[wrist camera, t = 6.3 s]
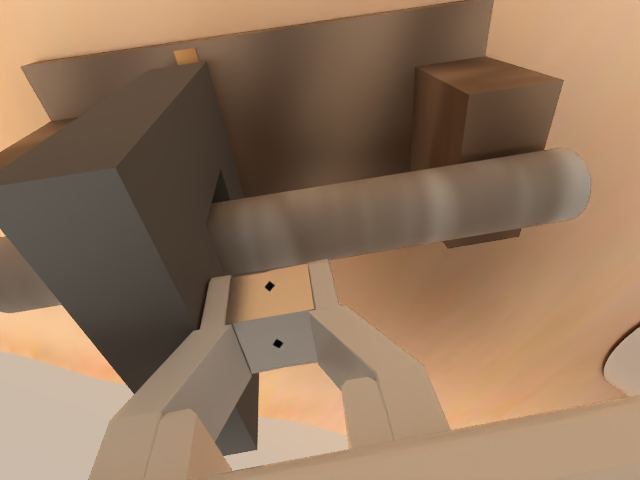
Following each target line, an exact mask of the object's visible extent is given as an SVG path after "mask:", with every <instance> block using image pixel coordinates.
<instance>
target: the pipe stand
mask: <svg viewBox="0 0 640 480" xmlns="http://www.w3.org/2000/svg"><path fill="white" fill-rule="evenodd" d="M493 1H494V0H464V1H457V2H450V3H443V4H436V5H430V6H423V7H416V8H409V9H402V10H395V11H388V12H381V13H374V14H367V15H360V16H353V17H346V18H339V19H332V20H325V21H319V22H312V23H305V24H298V25H291V26H284V27H277V28H270V29H263V30H256V31H249V32H242V33H235V34H228V35H221V36H214V37H208V38H201V39H194V40H187V41H180V42H173V43H166V44H159V45H152V46H145V47H138V48H131V49H124V50H117V51H110V52H103V53H97V54H90V55H83V56H76V57H69V58H62V59H55V60H48V61H41V62H35V63H31V64H28V65H25V66H22V67H21V69H22V71H23V72H24V74H25V76H26V78H27V79H28V81H29V83H30V85H31V86H32V88H33V90H34V92H35V93H36V95H37V97H38V99H39V100H40V102H41V104H42V106H43V107H44V109H45V111H46V113H47V114H48V116H49V118H50V120H51V122H49V123H48V124H46V125H44V126H43V127H41V128H39V129H38V130H36V131H35V132H33V133H31V134H30V135H28V136H26V137H25V138H23V139H21V140H20V141H18V142H16V143H15V144H13V145H11V146H10V147H8V148H7V149H5V150H3V151H2V152H0V169H2V168H3V167H5V166H6V165H8V164H9V163H11V162H12V161H14V160H15V159H17V158H18V157H20V156H21V155H23V154H24V153H26V152H27V151H29V150H30V149H32V148H33V147H35V146H36V145H38V144H39V143H41V142H42V141H44V140H45V139H47V138H48V137H50V136H51V135H53V134H54V133H56V132H57V131H59V130H60V129H61V128H63V127H64V126H66V125H67V124H69V123H70V122H72V121H73V120H75V119H76V118H78V117H79V116H81V115H82V114H84V113H85V112H87V111H88V110H90V109H91V108H93V107H94V106H96V105H97V104H99V103H100V102H102V101H103V100H105V99H106V98H108V97H109V96H111V95H112V94H114V93H115V92H117V91H118V90H120V89H121V88H123V87H124V86H126V85H127V84H128V83H130V82H131V81H133V80H134V79H136V78H137V77H139V76H140V75H142V74H143V73H145V72H146V71H148V70H149V69H156V68H163V67H170V66H177V65H184V64H190V63H197V62H204V61H207V64H208V68H209V71H210V75H211V78H212V82H213V86H214V89H215V93H216V96H217V100H218V104H219V107H220V111H221V114H222V118H223V122H224V125H225V129H226V132H227V136H228V140H229V143H230V147H231V150H232V154H233V158H234V161H235V165H236V168H237V172H238V176H239V179H240V183H241V186H242V190H243V194H244V197H245V198H243V199H237V200H230V201H224V202H218V203H212V204H211V207H210V211H209V214H208V218H207V222H206V225H207V228H208V231H209V233H210V236H211V239H212V241H213V244H214V247H215V250H216V252H217V255H218V258H219V260H220V263H221V266H222V268H223V271H224V274H225V276H228V275H233V274H239V273H246V272H253V271H260V270H267V269H274V268H280V267H286V266H292V265H297V264H303V263H308V262H312V261H317V260H322V259H328V260H333V259H339V258H345V257H351V256H357V255H363V254H369V253H375V252H381V251H387V250H393V249H399V248H405V247H411V246H417V245H423V244H429V243H435V242H441V241H443V242H444V244H445V245H446V246H447V248H454V247H460V246H466V245H472V244H478V243H484V242H490V241H496V240H502V239H508V238H514V237H519V235H520V231H521V228H525V227H531V226H537V225H543V224H549V223H555V222H561V221H567V220H571V219H574V218H576V217H577V216H579V215H580V214H581V213H582V212H583V211H584V209H585V207H586V206H587V203H588V201H589V198H590V193H591V179H590V174H589V171H588V168H587V166H586V164H585V162H584V161H583V159H582V158H581V157H580V156H579V155H578V154H577V153H576V152H574V151H573V150H571V149H568V148H556V149H550V150H544V147H545V144H546V140H547V137H548V133H549V130H550V126H551V123H552V120H553V116H554V113H555V109H556V106H557V102H558V99H559V95H560V92H561V88H562V85H563V81H564V80H561V79H558V78H555V77H551V76H548V75H545V74H541V73H538V72H535V71H532V70H528V69H525V68H522V67H518V66H515V65H512V64H509V63H505V62H502V61H499V60H495V59H492V58H489V57H486V56H485V53H486V46H487V40H488V33H489V27H490V20H491V14H492V7H493ZM57 305H62V304H61V303H60V302H59V301H58V299H57V298H56V297H55V296H54V294H53V293H52V292H51V291H50V289H49V288H48V287H47V286H46V285H45V283H44V282H43V281H42V280H41V278H40V277H39V276H38V275H37V273H36V272H35V271H34V270H33V268H32V267H31V266H30V265H29V264H28V262H27V261H26V260H25V259H24V257H23V256H22V255H21V254H20V252H19V251H18V250H17V249H16V247H15V246H14V245H13V244H12V243H11V241H10V240H9V239H8V238H7V236H5V237H0V312H4V313H15V312H21V311H27V310H33V309H39V308H45V307H51V306H57Z"/></svg>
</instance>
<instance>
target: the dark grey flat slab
mask: <svg viewBox="0 0 640 480" xmlns="http://www.w3.org/2000/svg"><path fill="white" fill-rule="evenodd" d="M243 198H245V197H244V194H243V190H242V186H241V183H240V179H239V176H238V172H237V168H236V165H235V161H234V158H233V154H232V150H231V147H230V143H229V140H228V136H227V132H226V129H225V125H224V122H223V118H222V114H221V111H220V107H219V104H218V100H217V96H216V93H215V89H214V86H213V82H212V78H211V75H210V71H209V68H208V64H207V61H204V62H197V63H190V64H184V65H177V66H170V67H163V68H156V69H149V70H148V71H146V72H145V73H143V74H142V75H140V76H139V77H137V78H136V79H134V80H133V81H131V82H130V83H128V84H127V85H126V86H124V87H123V88H121V89H120V90H118V91H117V92H115V93H114V94H112V95H111V96H109V97H108V98H106V99H105V100H103V101H102V102H100V103H99V104H97V105H96V106H94V107H93V108H91V109H90V110H88V111H87V112H85V113H84V114H82V115H81V116H79V117H78V118H76V119H75V120H73V121H72V122H70V123H69V124H67V125H66V126H64V127H63V128H61V129H60V130H59V131H57V132H56V133H54V134H53V135H51V136H50V137H48V138H47V139H45V140H44V141H42V142H41V143H39V144H38V145H36V146H35V147H33V148H32V149H30V150H29V151H27V152H26V153H24V154H23V155H21V156H20V157H18V158H17V159H15V160H14V161H12V162H11V163H9V164H8V165H6V166H5V167H3V168H2V169H0V229H1V230H2V231H3V233H4V234H5V235H6V236H7V238H8V239H9V240H10V241H11V243H12V244H13V245H14V246H15V247H16V249H17V250H18V251H19V252H20V254H21V255H22V256H23V257H24V259H25V260H26V261H27V262H28V264H29V265H30V266H31V267H32V268H33V270H34V271H35V272H36V273H37V275H38V276H39V277H40V278H41V280H42V281H43V282H44V283H45V285H46V286H47V287H48V288H49V289H50V291H51V292H52V293H53V294H54V296H55V297H56V298H57V299H58V301H59V302H60V303H61V304H62V306H63V307H64V308H65V309H66V310H67V312H68V313H69V314H70V315H71V317H72V318H73V319H74V320H75V322H76V323H77V324H78V325H79V327H80V328H81V329H82V330H83V331H84V333H85V334H86V335H87V336H88V338H89V339H90V340H91V341H92V343H93V344H94V345H95V346H96V348H97V349H98V350H99V351H100V352H101V354H102V355H103V356H104V357H105V359H106V360H107V361H108V362H109V364H110V365H111V366H112V367H113V369H114V370H115V371H116V372H117V373H118V375H119V376H120V377H121V378H122V380H123V381H124V382H125V383H126V385H127V386H128V387H129V388H130V389H131V391H132V392H133V393H134V394H135V393H136V392H137V391H138V390H139V389H140V388H141V387H142V386H143V385H144V383H145V382H146V381H147V380H148V379H149V378H150V377H151V376H152V375H153V374H154V373H155V372H156V371H157V369H158V368H159V367H160V366H161V365H162V364H163V363H164V362H165V361H166V360H167V359H168V358H169V356H170V355H171V354H172V353H173V352H174V351H175V350H176V349H177V348H178V347H179V346H180V345H181V344H182V342H183V341H184V340H185V339H186V338H187V337H188V336H189V335H190V334H191V333H192V332H193V331H195V330H200V325H201V320H202V315H203V310H204V305H205V300H206V295H207V290H208V285H209V282H210V280H211V279H212V278H214V277H221V276H225V274H224V271H223V268H222V266H221V263H220V260H219V258H218V255H217V252H216V250H215V247H214V244H213V241H212V239H211V236H210V233H209V231H208V228H207V225H206V222H207V218H208V214H209V211H210V207H211V204H212V203H218V202H224V201H230V200H237V199H243ZM251 375H252V377H251V379H250V380H249V382H248V384H247V386H246V387H245V389H244V391H243V393H242V395H241V396H240V398H239V400H238V402H237V404H236V405H235V407H234V409H233V411H232V412H231V414H230V416H229V418H228V420H227V421H226V423H225V425H224V427H223V428H222V430H221V432H220V434H219V436H218V437H217V439H216V441H215V444H216V445H217V447H218V449H219V450H220V452H221V453H222V455H223V456H226V455H230V454H236V453H242V452H247V451H253V450H257V437H258V393H259V373H254V374H251Z"/></svg>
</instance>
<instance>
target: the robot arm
mask: <svg viewBox="0 0 640 480" xmlns="http://www.w3.org/2000/svg"><path fill="white" fill-rule="evenodd" d="M308 267H309V268H308ZM316 362H318V364H319V365H320V367H321V368H322V369H323V370H324V371H325V372H326V374H327V375H328V376H329V377H330V378H331V380H332V381H333V382H334V383H335V384H336V385H337V387H338V388H339V389H340V390H341V391H342V399H343V406H344V414H345V422H346V430H347V437H348V445H349V449H348V450H342V451H338V452H332V453H326V454H322V455H316V456H311V457H305V458H300V459H295V460H289V461H284V462H278V463H273V464H268V465H262V466H257V467H252V468H246V469H241V470H236V471H232V469H231V467H230V466H229V464H228V463H227V461H226V459H225V458H224V456H223V455H222V453H221V452H220V450H219V449H218V447H217V445H216V444H215V441H216V439H217V437H218V436H219V434H220V432H221V430H222V428H223V427H224V425H225V423H226V421H227V420H228V418H229V416H230V414H231V412H232V411H233V409H234V407H235V405H236V404H237V402H238V400H239V398H240V396H241V395H242V393H243V391H244V389H245V387H246V386H247V384H248V382H249V380H250V379H251V377H252V375H251V374H254V373H259V372H264V371H269V370H273V369H278V368H283V367H289V366H296V365H303V364H309V363H316ZM604 377H605V379H606V380H607V381H608V382H609V383H611V384H612V385H613V386H615V387H616V388H618V389H619V390H620V391H622V392H623V393H624V394H626V395H627V396H628V397H625V398H620V399H615V400H609V401H604V402H599V403H593V404H588V405H583V406H577V407H572V408H567V409H561V410H556V411H551V412H545V413H540V414H535V415H529V416H524V417H519V418H513V419H508V420H503V421H497V422H492V423H487V424H481V425H476V426H471V427H465V428H460V429H455V430H451V429H450V427H449V424H448V422H447V420H446V417H445V415H444V412H443V410H442V408H441V405H440V403H439V401H438V398H437V396H436V393H435V391H434V389H433V386H432V384H431V382H430V379H429V377H428V374H427V372H426V370H425V367H424V365H423V364H421V363H420V362H419V361H418V360H416V359H415V358H414V357H412V356H411V355H410V354H409V353H407V352H406V351H405V350H403V349H402V348H401V347H399V346H398V345H397V344H396V343H394V342H393V341H392V340H390V339H389V338H388V337H387V336H385V335H384V334H383V333H381V332H380V331H379V330H378V329H376V328H375V327H374V326H372V325H371V324H370V323H369V322H367V321H366V320H365V319H363V318H362V317H361V316H360V315H358V314H357V313H356V312H354V311H353V310H352V309H351V308H349V307H348V306H347V305H341V306H339V301H338V297H337V293H336V289H335V284H334V280H333V276H332V272H331V267H330V263H329V260H328V259H322V260H317V261H312V262H308V263H303V264H297V265H292V266H286V267H280V268H274V269H267V270H260V271H253V272H246V273H239V274H233V275H228V276H221V277H214V278H212V279H211V280H210V282H209V285H208V290H207V295H206V300H205V305H204V310H203V315H202V320H201V325H200V330H195V331H193V332H192V333H191V334H190V335H189V336H188V337H187V338H186V339H185V340H184V341H183V342H182V344H181V345H180V346H179V347H178V348H177V349H176V350H175V351H174V352H173V353H172V354H171V355H170V356H169V358H168V359H167V360H166V361H165V362H164V363H163V364H162V365H161V366H160V367H159V368H158V369H157V371H156V372H155V373H154V374H153V375H152V376H151V377H150V378H149V379H148V380H147V381H146V382H145V383H144V385H143V386H142V387H141V388H140V389H139V390H138V391H137V392H136V393H135V394H134V395H133V396H132V398H131V399H130V400H129V401H128V402H127V403H126V404H125V405H124V406H123V407H122V408H121V409H120V410H119V412H118V413H117V414H116V415H115V416H114V417H113V418H112V419H111V420H110V422H109V425H108V427H107V430H106V433H105V435H104V439H103V441H102V444H101V447H100V449H99V452H98V455H97V457H96V460H95V463H94V466H93V468H92V471H91V474H90V476H89V479H88V480H640V327H639V328H637V329H636V330H635V331H634V332H632V333H631V334H630V335H629V336H628V337H626V338H625V339H624V340H623V341H622V342H621V343H620V344H619V345H618V346H617V347H616V349H615V350H614V351H613V352H612V354H611V355H610V356H609V358H608V360H607V362H606V364H605V367H604Z"/></svg>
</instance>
